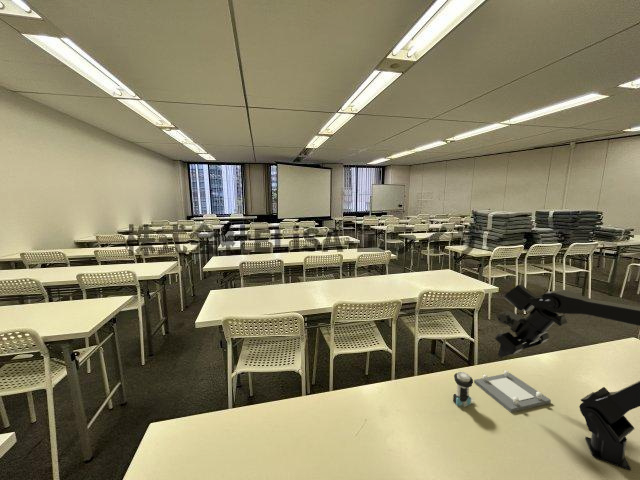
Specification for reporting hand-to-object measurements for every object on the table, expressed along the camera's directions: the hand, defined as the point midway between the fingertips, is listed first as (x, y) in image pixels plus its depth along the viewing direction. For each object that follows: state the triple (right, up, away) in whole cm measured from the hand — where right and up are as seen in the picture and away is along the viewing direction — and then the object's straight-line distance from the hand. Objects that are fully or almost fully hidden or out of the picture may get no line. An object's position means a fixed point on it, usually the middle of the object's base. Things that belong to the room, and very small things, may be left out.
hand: (507, 352), depth 86 cm
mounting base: (+2, -14, +1) cm, 14 cm away
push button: (-17, -15, -3) cm, 23 cm away
